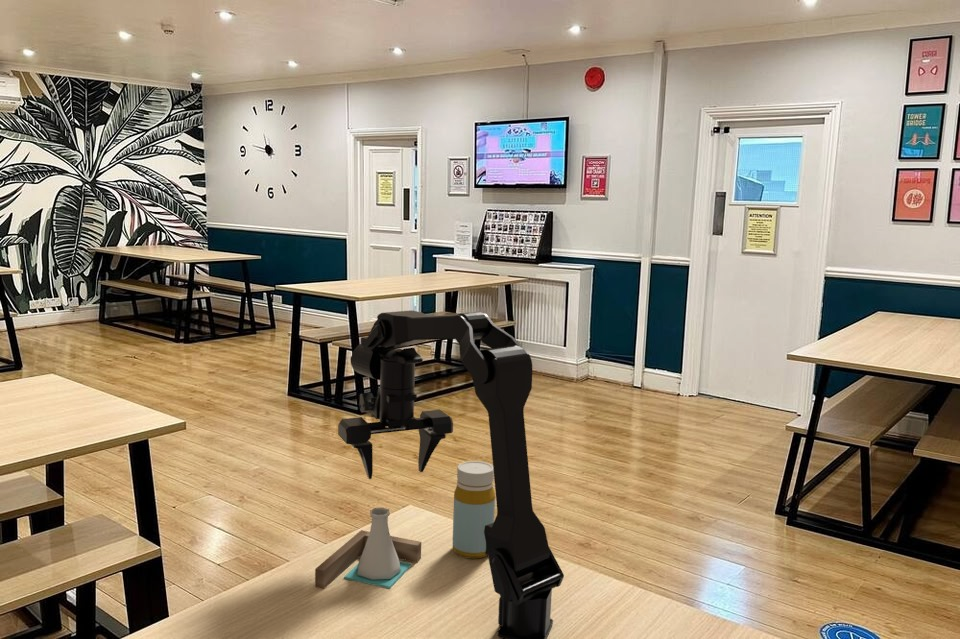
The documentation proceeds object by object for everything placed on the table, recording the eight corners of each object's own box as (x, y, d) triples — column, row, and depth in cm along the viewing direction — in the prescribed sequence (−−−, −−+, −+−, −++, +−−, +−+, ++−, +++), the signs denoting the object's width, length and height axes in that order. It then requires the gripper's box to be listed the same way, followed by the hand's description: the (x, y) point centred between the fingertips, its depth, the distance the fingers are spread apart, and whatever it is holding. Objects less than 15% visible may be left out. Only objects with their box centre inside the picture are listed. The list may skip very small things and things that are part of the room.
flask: (349, 578, 115) (350, 518, 114) (364, 557, 122) (365, 500, 121) (394, 583, 114) (395, 523, 113) (406, 562, 121) (407, 504, 120)
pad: (411, 565, 121) (411, 563, 121) (390, 588, 113) (390, 586, 113) (367, 556, 123) (367, 554, 123) (344, 578, 116) (344, 576, 116)
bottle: (446, 545, 129) (448, 462, 126) (482, 538, 132) (485, 458, 129) (462, 562, 122) (465, 476, 120) (499, 555, 125) (503, 471, 123)
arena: (420, 558, 123) (421, 541, 123) (381, 602, 109) (381, 583, 109) (360, 546, 127) (361, 530, 126) (315, 587, 113) (315, 568, 113)
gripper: (430, 371, 134) (428, 453, 137) (329, 378, 126) (329, 466, 128) (455, 385, 124) (452, 474, 127) (347, 394, 116) (347, 488, 119)
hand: (395, 474), depth 125 cm, fingers open, 9 cm apart
